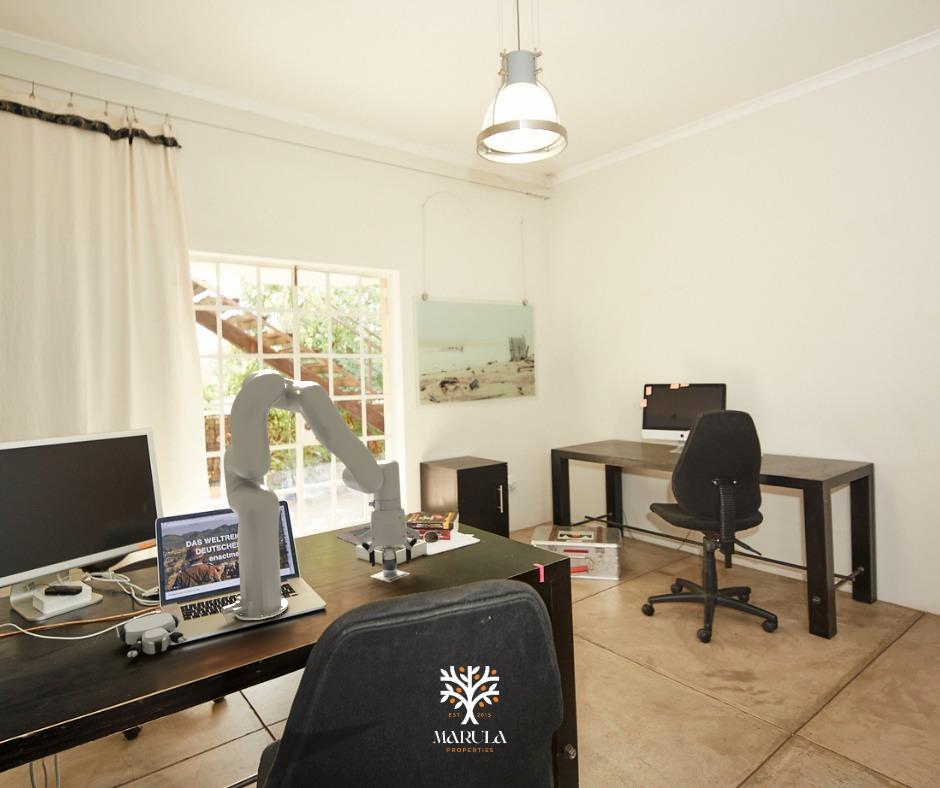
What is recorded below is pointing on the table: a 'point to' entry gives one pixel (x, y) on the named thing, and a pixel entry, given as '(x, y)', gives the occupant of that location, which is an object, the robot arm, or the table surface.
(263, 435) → the robot arm
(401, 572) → the plate
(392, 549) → the clear bottle
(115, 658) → the table surface
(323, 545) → the table surface
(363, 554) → the tub
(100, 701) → the table surface
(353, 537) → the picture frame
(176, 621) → the robot toy
